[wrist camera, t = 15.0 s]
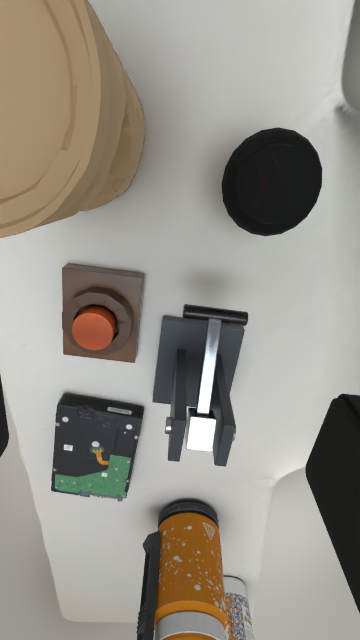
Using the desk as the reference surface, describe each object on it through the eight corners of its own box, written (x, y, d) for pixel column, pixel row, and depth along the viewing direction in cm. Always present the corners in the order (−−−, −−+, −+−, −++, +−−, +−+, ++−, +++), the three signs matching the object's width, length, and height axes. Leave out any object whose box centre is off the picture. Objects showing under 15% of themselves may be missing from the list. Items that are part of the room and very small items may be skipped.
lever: (183, 304, 29) (185, 303, 27) (244, 311, 29) (250, 312, 27) (166, 435, 29) (166, 447, 27) (226, 442, 30) (231, 454, 27)
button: (77, 303, 32) (71, 310, 30) (118, 308, 32) (114, 315, 30) (77, 338, 34) (71, 347, 32) (115, 343, 34) (112, 352, 32)
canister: (203, 542, 52) (213, 743, 33) (137, 524, 50) (110, 724, 32) (227, 507, 48) (254, 709, 30) (158, 486, 47) (141, 686, 28)
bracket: (163, 315, 36) (153, 382, 24) (242, 325, 36) (271, 396, 25) (153, 396, 40) (140, 485, 29) (224, 404, 41) (241, 496, 29)
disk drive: (62, 390, 40) (57, 476, 46) (54, 404, 38) (49, 493, 43) (145, 403, 41) (129, 486, 47) (142, 418, 38) (126, 504, 44)
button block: (67, 263, 34) (55, 272, 30) (144, 273, 34) (140, 283, 31) (68, 347, 38) (57, 363, 34) (136, 355, 38) (132, 372, 35)
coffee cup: (292, 141, 29) (341, 124, 20) (281, 222, 32) (320, 240, 23) (214, 140, 29) (227, 123, 20) (210, 221, 32) (220, 238, 23)
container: (26, 211, 32) (-146, 247, 15) (-13, 50, 27) (-333, -159, 10) (154, 203, 31) (122, 232, 15) (140, 38, 26) (67, -199, 10)
